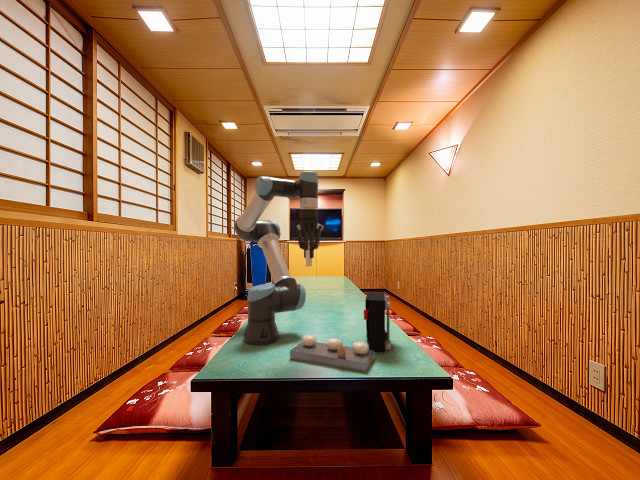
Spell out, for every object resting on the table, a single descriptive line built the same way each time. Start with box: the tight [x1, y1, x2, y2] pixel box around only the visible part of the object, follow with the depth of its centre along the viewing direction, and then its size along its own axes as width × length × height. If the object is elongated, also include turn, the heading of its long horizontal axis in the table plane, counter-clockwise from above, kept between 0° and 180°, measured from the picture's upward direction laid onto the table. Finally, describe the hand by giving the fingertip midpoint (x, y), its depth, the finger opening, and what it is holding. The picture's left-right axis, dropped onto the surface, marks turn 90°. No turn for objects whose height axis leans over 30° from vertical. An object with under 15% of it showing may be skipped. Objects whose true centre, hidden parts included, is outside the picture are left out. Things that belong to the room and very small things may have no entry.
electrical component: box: [363, 291, 392, 354], centre depth 119 cm, size 18×10×20 cm, turn 168°
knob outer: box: [352, 341, 369, 355], centre depth 103 cm, size 5×5×6 cm
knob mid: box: [326, 337, 341, 350], centre depth 106 cm, size 5×5×6 cm
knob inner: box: [302, 334, 317, 347], centre depth 110 cm, size 5×5×6 cm
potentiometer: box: [338, 341, 345, 358], centre depth 99 cm, size 3×3×5 cm
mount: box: [289, 341, 375, 373], centre depth 105 cm, size 28×12×3 cm, turn 67°
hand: (308, 266), depth 120 cm, fingers closed
